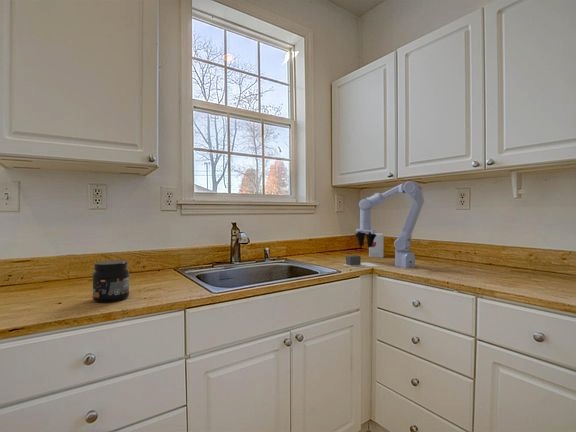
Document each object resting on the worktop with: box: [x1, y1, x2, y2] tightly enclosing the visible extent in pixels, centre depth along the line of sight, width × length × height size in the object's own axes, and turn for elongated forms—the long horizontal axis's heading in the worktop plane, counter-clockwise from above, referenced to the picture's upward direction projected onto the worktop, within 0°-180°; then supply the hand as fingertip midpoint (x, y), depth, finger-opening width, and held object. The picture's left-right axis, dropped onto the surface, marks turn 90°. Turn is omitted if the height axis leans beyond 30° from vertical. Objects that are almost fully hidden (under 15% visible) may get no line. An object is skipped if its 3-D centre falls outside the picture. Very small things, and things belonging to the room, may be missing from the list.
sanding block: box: [345, 254, 362, 268], centre depth 160 cm, size 4×6×5 cm, turn 112°
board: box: [341, 262, 381, 269], centre depth 161 cm, size 11×16×1 cm
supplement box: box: [368, 232, 385, 259], centre depth 202 cm, size 9×9×15 cm
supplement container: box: [91, 259, 130, 304], centre depth 102 cm, size 10×10×12 cm
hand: (365, 246), depth 170 cm, fingers open, 7 cm apart
